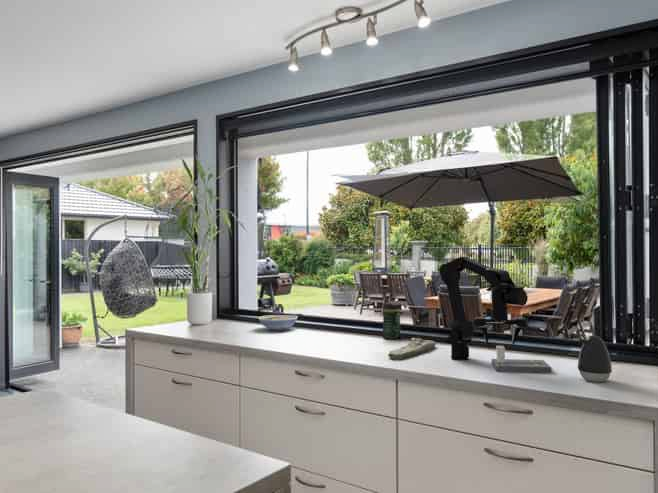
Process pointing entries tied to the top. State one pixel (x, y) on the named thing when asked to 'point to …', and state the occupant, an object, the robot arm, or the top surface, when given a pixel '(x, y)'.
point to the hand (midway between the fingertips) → (500, 344)
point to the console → (521, 366)
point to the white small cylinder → (500, 354)
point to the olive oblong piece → (412, 349)
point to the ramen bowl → (278, 321)
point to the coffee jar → (391, 320)
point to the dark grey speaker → (594, 360)
